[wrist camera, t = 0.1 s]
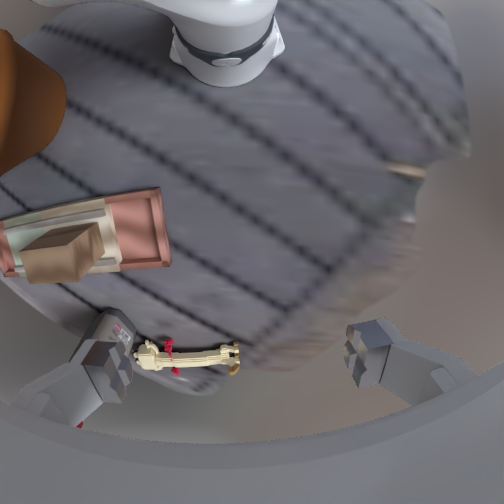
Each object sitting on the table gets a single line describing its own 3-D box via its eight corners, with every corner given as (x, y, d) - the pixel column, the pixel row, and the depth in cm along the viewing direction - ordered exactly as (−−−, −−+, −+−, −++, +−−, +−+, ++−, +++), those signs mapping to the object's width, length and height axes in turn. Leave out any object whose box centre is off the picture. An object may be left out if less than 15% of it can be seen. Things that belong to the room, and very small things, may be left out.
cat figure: (236, 329, 59) (128, 335, 56) (240, 356, 51) (120, 361, 48) (238, 359, 63) (139, 364, 60) (242, 386, 55) (134, 390, 52)
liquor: (115, 302, 53) (57, 413, 25) (142, 332, 56) (103, 446, 29) (92, 317, 54) (36, 417, 27) (117, 344, 58) (76, 446, 30)
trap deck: (-6, 221, 43) (-16, 227, 39) (160, 186, 44) (153, 191, 40) (9, 272, 48) (1, 279, 45) (172, 260, 50) (167, 270, 46)
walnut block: (51, 229, 42) (18, 251, 32) (97, 221, 42) (66, 245, 32) (59, 257, 45) (29, 283, 34) (105, 252, 45) (78, 281, 35)
